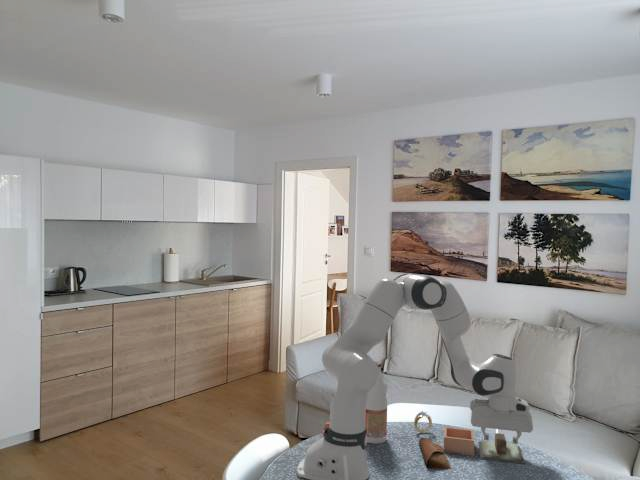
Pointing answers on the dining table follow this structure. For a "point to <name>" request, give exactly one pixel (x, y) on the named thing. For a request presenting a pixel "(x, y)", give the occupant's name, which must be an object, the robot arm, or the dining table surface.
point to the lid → (500, 449)
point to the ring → (420, 418)
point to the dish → (458, 441)
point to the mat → (501, 459)
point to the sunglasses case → (433, 455)
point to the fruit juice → (377, 411)
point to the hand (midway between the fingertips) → (500, 441)
